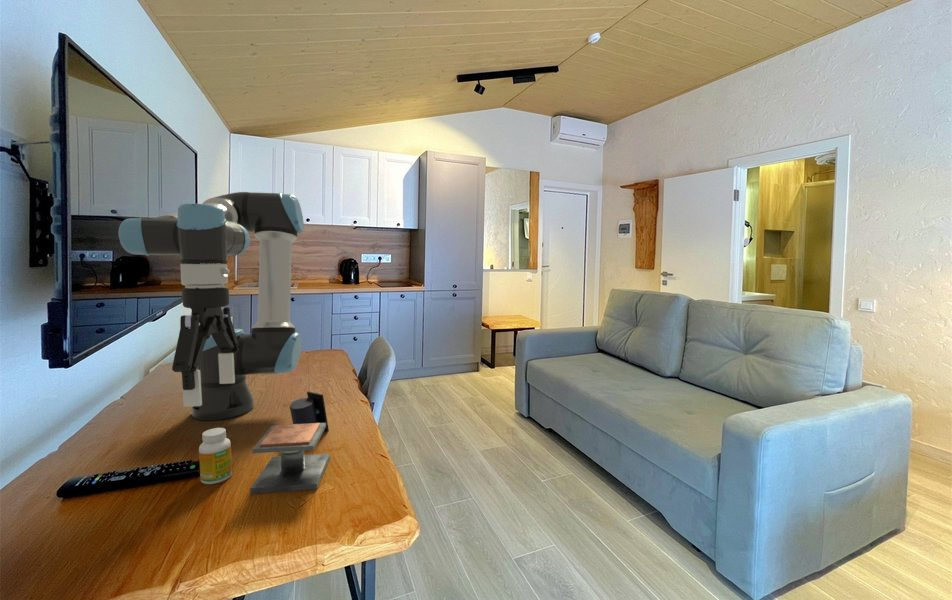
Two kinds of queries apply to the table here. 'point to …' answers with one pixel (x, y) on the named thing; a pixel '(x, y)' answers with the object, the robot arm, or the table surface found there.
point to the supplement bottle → (215, 456)
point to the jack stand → (291, 459)
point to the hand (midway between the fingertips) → (211, 393)
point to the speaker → (309, 410)
